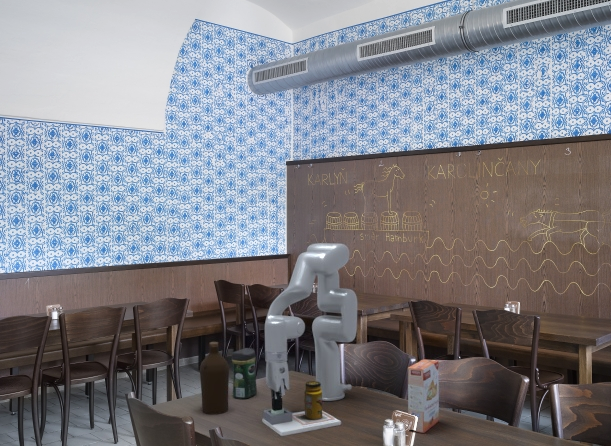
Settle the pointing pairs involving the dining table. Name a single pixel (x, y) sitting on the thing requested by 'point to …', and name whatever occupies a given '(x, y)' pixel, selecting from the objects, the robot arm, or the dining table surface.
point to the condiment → (312, 402)
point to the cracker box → (424, 393)
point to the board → (296, 422)
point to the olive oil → (214, 381)
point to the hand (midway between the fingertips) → (277, 409)
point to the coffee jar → (244, 373)
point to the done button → (277, 412)
